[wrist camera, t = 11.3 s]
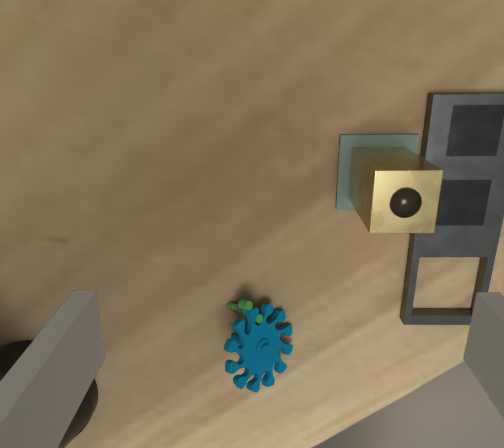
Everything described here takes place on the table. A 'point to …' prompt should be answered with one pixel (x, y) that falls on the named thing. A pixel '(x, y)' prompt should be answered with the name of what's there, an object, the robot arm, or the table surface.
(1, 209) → the table surface
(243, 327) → the blue spiky knobbed toy
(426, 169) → the wooden speaker box
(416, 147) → the translucent green panel
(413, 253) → the rail
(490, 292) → the robot arm
